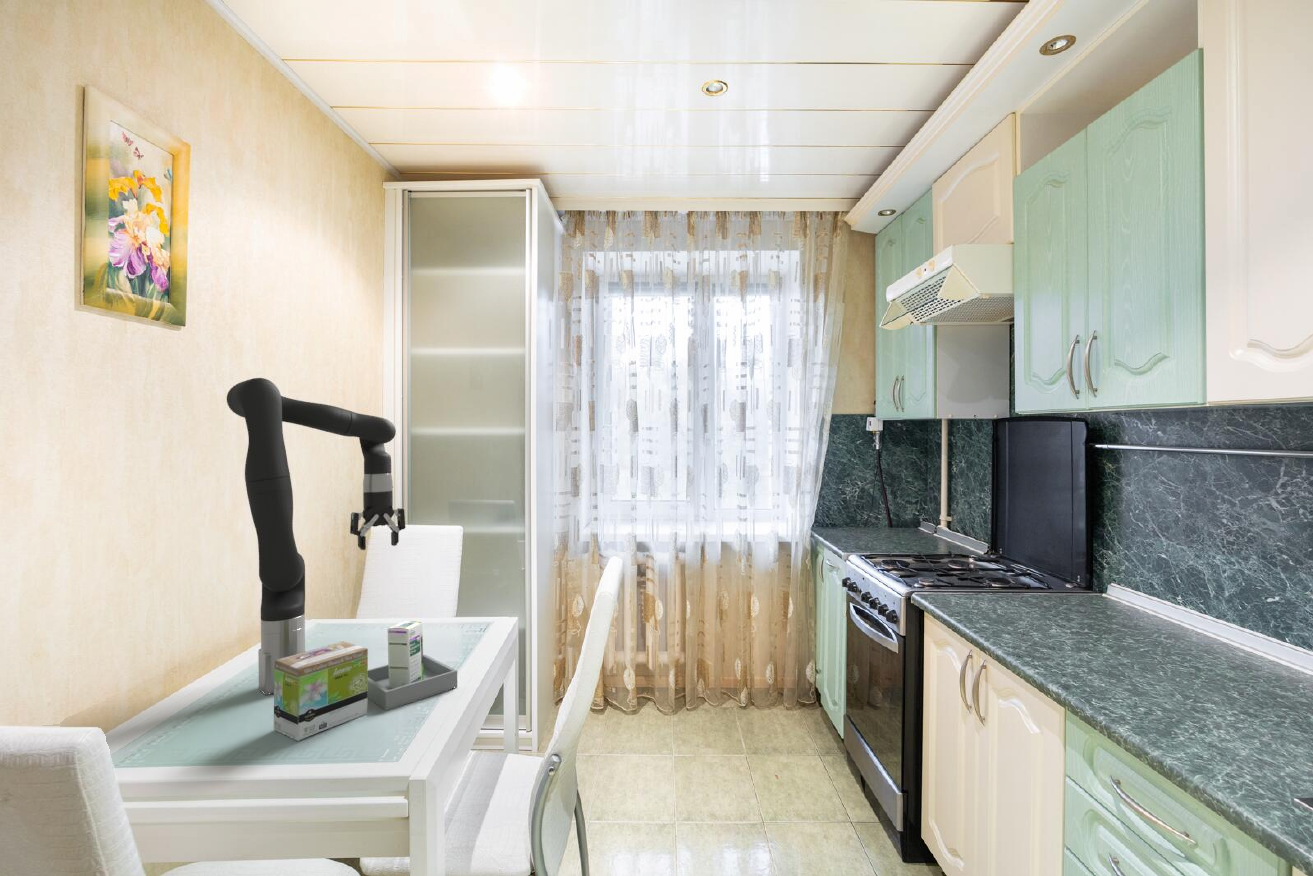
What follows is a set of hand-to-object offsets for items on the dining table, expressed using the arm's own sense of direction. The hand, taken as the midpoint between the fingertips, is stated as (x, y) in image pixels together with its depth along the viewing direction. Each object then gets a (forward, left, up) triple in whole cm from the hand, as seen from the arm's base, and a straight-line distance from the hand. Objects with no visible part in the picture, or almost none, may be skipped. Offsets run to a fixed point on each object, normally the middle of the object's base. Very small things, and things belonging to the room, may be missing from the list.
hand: (378, 547), depth 170 cm
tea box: (-25, -33, -30) cm, 51 cm away
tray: (-5, -29, -30) cm, 42 cm away
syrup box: (-5, -29, -29) cm, 42 cm away
